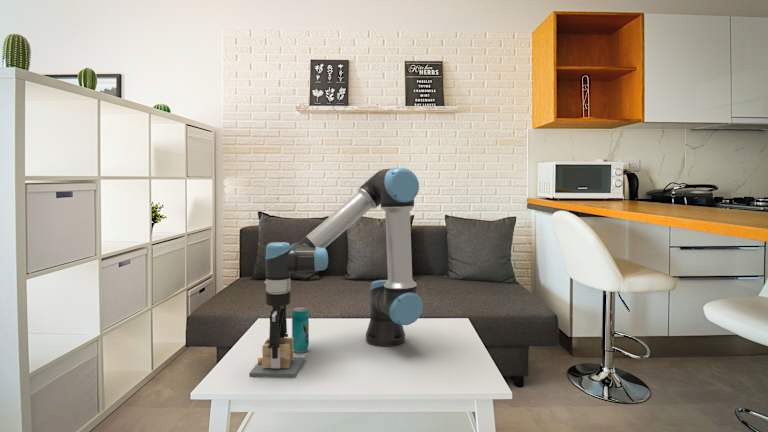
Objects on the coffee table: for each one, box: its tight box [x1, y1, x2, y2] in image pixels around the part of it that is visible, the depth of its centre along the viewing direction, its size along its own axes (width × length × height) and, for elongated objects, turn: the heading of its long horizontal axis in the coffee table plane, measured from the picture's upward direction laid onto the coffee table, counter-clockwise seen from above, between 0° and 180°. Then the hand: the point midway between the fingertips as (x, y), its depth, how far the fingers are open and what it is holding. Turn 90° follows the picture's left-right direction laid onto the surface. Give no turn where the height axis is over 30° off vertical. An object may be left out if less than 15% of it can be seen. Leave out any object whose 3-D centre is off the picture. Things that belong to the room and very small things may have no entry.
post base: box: [248, 356, 306, 379], centre depth 144 cm, size 14×14×7 cm
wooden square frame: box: [262, 337, 294, 368], centre depth 143 cm, size 8×8×7 cm
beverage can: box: [291, 306, 310, 354], centre depth 160 cm, size 6×6×15 cm
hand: (278, 362), depth 144 cm, fingers closed on wooden square frame, 8 cm apart
